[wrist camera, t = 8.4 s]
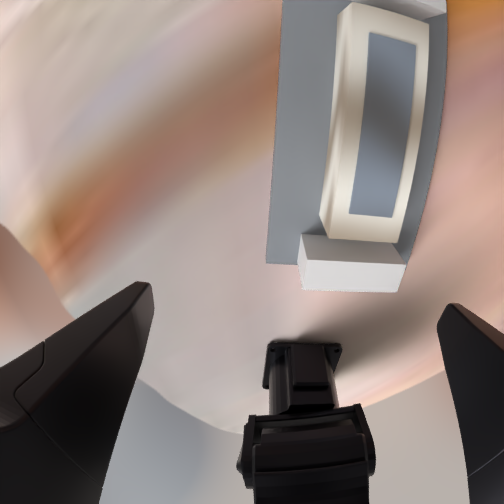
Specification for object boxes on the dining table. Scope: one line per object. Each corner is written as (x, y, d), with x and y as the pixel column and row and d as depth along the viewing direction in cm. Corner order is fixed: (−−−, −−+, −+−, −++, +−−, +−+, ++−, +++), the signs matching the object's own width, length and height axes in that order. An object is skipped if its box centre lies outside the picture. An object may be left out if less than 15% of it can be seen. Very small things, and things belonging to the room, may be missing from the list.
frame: (379, 220, 18) (398, 244, 15) (319, 214, 18) (329, 239, 15) (404, 31, 12) (430, 23, 9) (337, 15, 12) (353, 0, 9)
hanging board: (400, 262, 21) (421, 295, 17) (265, 255, 21) (266, 291, 17) (439, 4, 11) (473, -6, 8) (284, -34, 11) (289, -63, 8)
